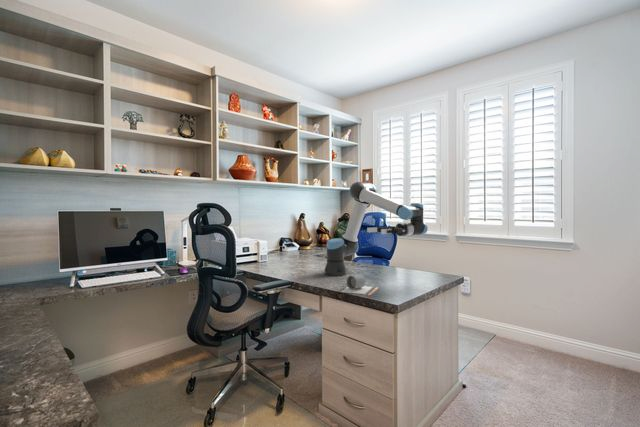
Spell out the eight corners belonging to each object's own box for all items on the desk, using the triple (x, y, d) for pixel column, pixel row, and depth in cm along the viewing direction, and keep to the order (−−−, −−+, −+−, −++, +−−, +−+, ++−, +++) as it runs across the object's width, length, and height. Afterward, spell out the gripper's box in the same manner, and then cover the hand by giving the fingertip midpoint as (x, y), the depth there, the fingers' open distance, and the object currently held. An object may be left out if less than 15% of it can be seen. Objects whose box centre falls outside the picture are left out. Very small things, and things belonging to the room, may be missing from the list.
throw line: (376, 287, 184) (376, 287, 184) (378, 288, 184) (378, 287, 184) (367, 295, 169) (367, 294, 169) (370, 295, 168) (370, 295, 168)
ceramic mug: (366, 288, 181) (366, 274, 181) (356, 290, 176) (355, 276, 176) (352, 285, 189) (352, 271, 189) (342, 287, 184) (342, 273, 184)
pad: (350, 285, 190) (350, 284, 190) (372, 287, 184) (372, 286, 184) (341, 292, 176) (341, 291, 176) (364, 294, 171) (364, 293, 171)
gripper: (418, 237, 183) (387, 239, 174) (391, 234, 206) (362, 235, 197) (418, 224, 183) (387, 225, 174) (391, 222, 206) (362, 223, 197)
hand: (374, 230), depth 185 cm, fingers open, 13 cm apart
